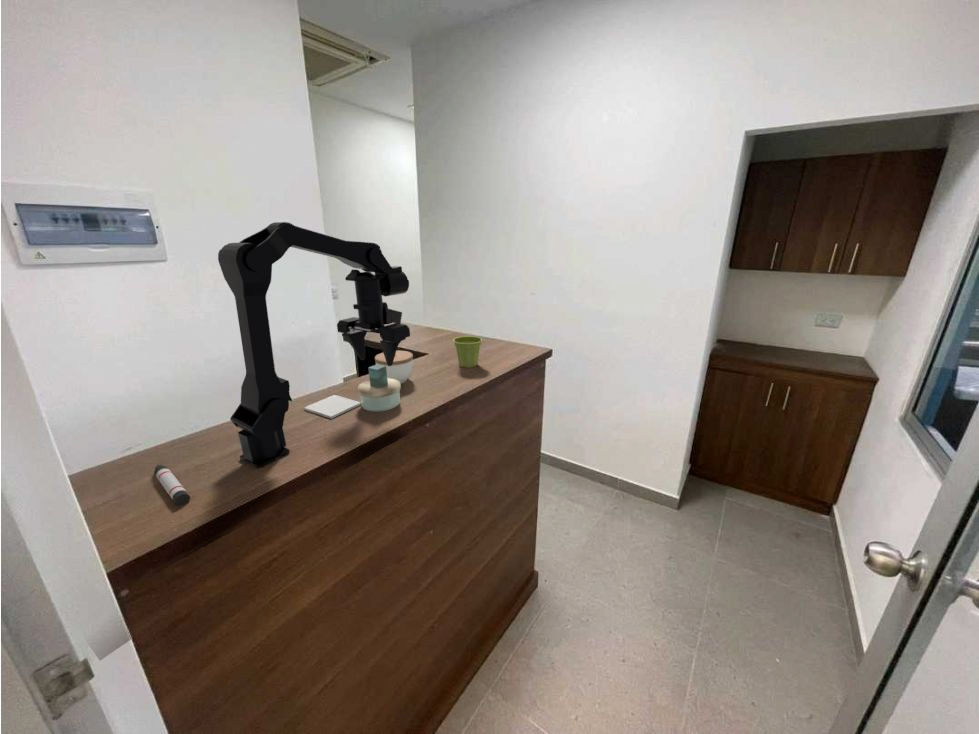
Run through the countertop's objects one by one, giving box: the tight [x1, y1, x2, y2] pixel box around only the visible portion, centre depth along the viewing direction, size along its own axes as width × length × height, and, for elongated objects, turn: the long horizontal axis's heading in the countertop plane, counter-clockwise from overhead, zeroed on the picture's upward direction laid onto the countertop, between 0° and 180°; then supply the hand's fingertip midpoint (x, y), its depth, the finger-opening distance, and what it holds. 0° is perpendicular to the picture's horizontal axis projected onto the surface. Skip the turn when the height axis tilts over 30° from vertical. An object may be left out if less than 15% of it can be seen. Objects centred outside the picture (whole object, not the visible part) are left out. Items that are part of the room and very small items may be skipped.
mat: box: [303, 394, 362, 420], centre depth 96 cm, size 9×10×1 cm
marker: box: [153, 464, 191, 506], centre depth 66 cm, size 15×2×2 cm, turn 51°
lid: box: [357, 363, 402, 398], centre depth 95 cm, size 10×10×6 cm
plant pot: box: [452, 335, 483, 369], centre depth 124 cm, size 9×9×9 cm
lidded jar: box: [374, 350, 414, 385], centre depth 111 cm, size 11×11×9 cm
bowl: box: [359, 390, 401, 413], centre depth 97 cm, size 9×9×4 cm
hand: (376, 362), depth 94 cm, fingers open, 9 cm apart
